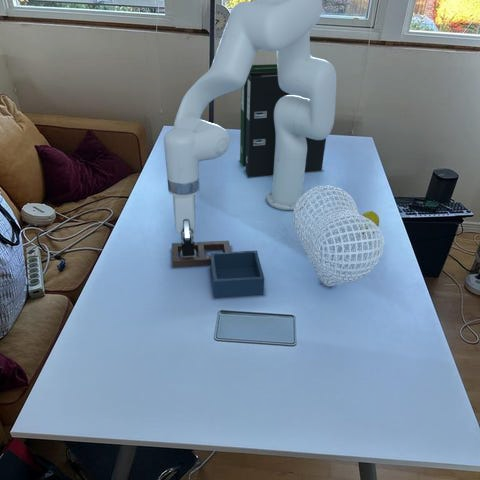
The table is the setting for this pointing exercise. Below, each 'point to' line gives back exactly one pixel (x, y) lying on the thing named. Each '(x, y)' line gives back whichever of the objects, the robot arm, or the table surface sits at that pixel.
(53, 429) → the table surface
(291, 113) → the robot arm
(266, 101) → the binder
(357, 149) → the table surface
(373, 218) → the lemon
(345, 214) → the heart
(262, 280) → the blue open box
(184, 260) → the stand
